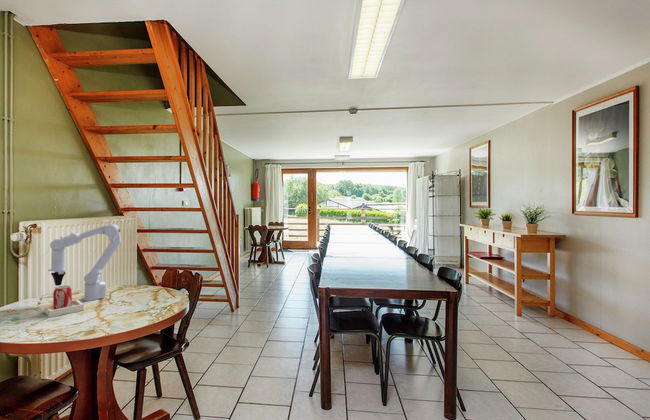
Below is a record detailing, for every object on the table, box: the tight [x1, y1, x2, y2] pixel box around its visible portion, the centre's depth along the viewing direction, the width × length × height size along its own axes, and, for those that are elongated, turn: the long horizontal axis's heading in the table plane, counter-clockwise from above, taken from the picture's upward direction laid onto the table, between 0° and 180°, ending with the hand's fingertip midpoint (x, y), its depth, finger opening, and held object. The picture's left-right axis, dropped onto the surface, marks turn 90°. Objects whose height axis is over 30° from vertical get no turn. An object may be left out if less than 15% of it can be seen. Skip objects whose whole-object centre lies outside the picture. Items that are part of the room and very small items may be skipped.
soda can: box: [52, 285, 73, 310], centre depth 150 cm, size 7×7×12 cm
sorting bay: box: [44, 299, 85, 318], centre depth 149 cm, size 13×12×3 cm
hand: (58, 285), depth 163 cm, fingers closed
